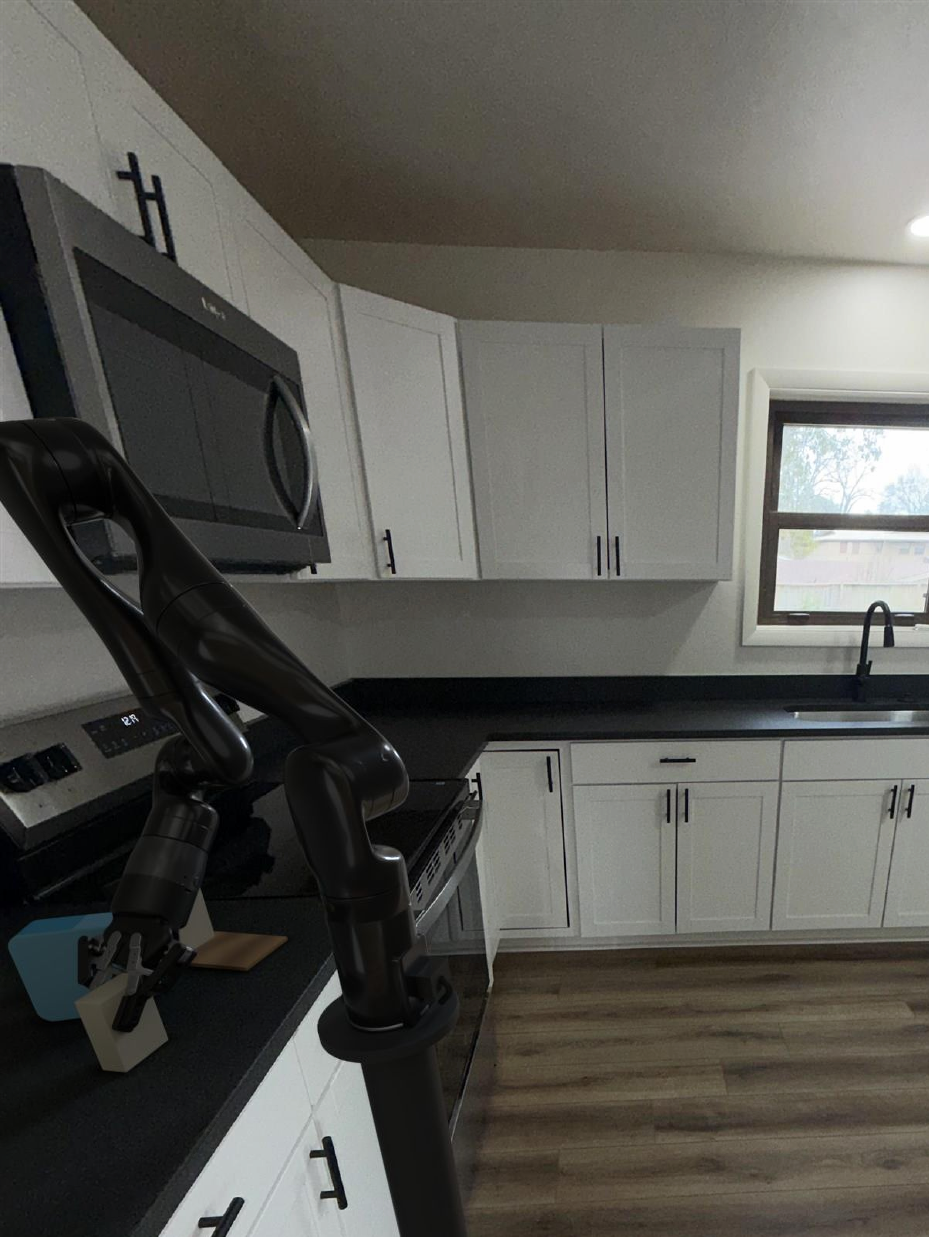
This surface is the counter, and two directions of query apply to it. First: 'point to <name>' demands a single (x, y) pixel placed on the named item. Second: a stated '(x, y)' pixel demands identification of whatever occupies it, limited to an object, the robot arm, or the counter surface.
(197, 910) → the rack
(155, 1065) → the counter surface
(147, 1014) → the beige block
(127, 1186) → the counter surface
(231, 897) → the counter surface
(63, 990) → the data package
